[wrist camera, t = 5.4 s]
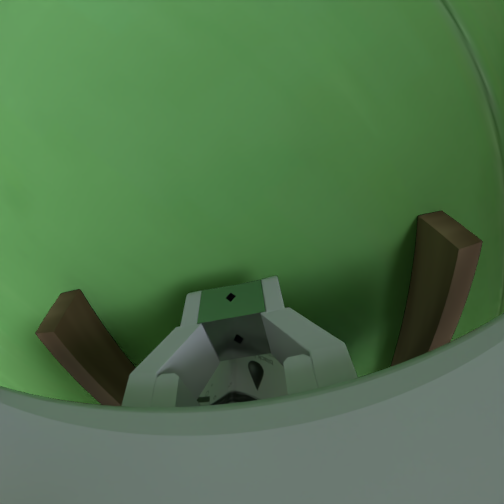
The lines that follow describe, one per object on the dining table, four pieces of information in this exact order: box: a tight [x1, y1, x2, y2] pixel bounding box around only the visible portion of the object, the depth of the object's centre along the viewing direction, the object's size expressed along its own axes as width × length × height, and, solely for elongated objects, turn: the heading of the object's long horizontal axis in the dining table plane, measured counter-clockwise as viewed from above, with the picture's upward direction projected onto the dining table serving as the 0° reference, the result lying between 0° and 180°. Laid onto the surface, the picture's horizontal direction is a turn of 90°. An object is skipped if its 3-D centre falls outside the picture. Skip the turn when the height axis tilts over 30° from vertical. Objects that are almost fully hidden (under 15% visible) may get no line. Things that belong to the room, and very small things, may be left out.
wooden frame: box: [35, 211, 483, 406], centre depth 12 cm, size 22×19×7 cm
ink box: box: [197, 353, 288, 406], centre depth 9 cm, size 9×5×12 cm, turn 49°
